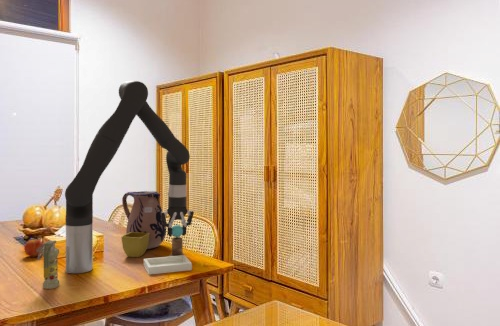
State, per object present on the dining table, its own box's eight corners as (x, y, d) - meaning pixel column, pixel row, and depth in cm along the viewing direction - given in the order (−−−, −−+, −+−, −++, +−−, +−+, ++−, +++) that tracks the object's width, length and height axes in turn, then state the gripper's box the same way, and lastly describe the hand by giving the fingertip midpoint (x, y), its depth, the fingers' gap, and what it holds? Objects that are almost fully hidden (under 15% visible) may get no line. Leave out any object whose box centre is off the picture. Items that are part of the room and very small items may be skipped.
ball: (172, 238, 172) (172, 226, 172) (169, 236, 177) (169, 224, 177) (184, 237, 174) (184, 225, 174) (181, 235, 179) (181, 223, 179)
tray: (148, 274, 152) (148, 267, 152) (143, 265, 163) (143, 258, 163) (191, 269, 158) (191, 263, 158) (184, 261, 169) (184, 255, 169)
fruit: (20, 257, 171) (20, 238, 170) (34, 253, 177) (33, 234, 177) (34, 259, 169) (34, 239, 168) (47, 255, 175) (47, 236, 175)
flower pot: (140, 259, 171) (140, 237, 171) (120, 257, 173) (120, 236, 172) (149, 253, 180) (150, 233, 179) (131, 252, 181) (131, 231, 181)
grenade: (61, 283, 141) (60, 239, 140) (52, 291, 134) (52, 244, 133) (42, 283, 140) (41, 239, 140) (32, 290, 134) (31, 244, 133)
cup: (171, 259, 172) (171, 240, 172) (168, 255, 178) (168, 237, 177) (185, 257, 174) (186, 239, 174) (182, 254, 180) (182, 236, 179)
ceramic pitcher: (157, 253, 181) (157, 195, 179) (111, 250, 184) (111, 193, 183) (171, 243, 198) (171, 190, 197) (129, 241, 201) (129, 189, 200)
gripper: (162, 197, 168) (161, 239, 169) (196, 196, 174) (196, 236, 175) (158, 194, 175) (158, 235, 176) (191, 193, 181) (191, 232, 182)
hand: (176, 235), depth 176 cm, fingers closed on ball, 5 cm apart
